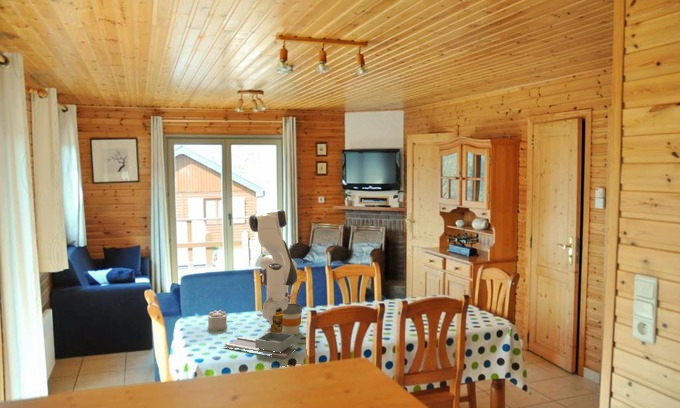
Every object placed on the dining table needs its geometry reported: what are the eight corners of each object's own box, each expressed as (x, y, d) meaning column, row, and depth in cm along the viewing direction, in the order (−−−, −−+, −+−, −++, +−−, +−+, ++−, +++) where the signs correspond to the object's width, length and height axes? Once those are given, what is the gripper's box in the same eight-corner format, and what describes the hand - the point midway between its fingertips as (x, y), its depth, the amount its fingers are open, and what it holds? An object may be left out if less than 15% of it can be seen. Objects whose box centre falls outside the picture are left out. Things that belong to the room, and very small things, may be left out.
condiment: (279, 334, 285) (279, 311, 284) (264, 331, 288) (264, 308, 287) (285, 330, 292) (286, 307, 291) (271, 327, 295) (271, 305, 294)
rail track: (240, 338, 309) (240, 335, 309) (298, 348, 295) (298, 345, 295) (223, 348, 295) (223, 345, 295) (283, 359, 280) (283, 356, 280)
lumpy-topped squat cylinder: (208, 330, 322) (207, 315, 322) (208, 323, 335) (208, 308, 334) (226, 329, 324) (226, 314, 323) (226, 322, 337) (226, 308, 336)
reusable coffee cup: (298, 336, 313) (298, 310, 311) (277, 335, 315) (277, 308, 314) (304, 329, 325) (304, 304, 324) (283, 327, 328) (283, 302, 326)
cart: (270, 340, 301) (270, 330, 300) (294, 345, 295) (294, 334, 294) (255, 349, 287) (255, 339, 287) (280, 354, 282) (280, 343, 281)
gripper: (270, 301, 277) (270, 328, 279) (290, 292, 296) (290, 317, 297) (259, 300, 280) (259, 327, 281) (279, 290, 298) (279, 315, 300)
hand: (275, 322), depth 289 cm, fingers closed on condiment, 6 cm apart
